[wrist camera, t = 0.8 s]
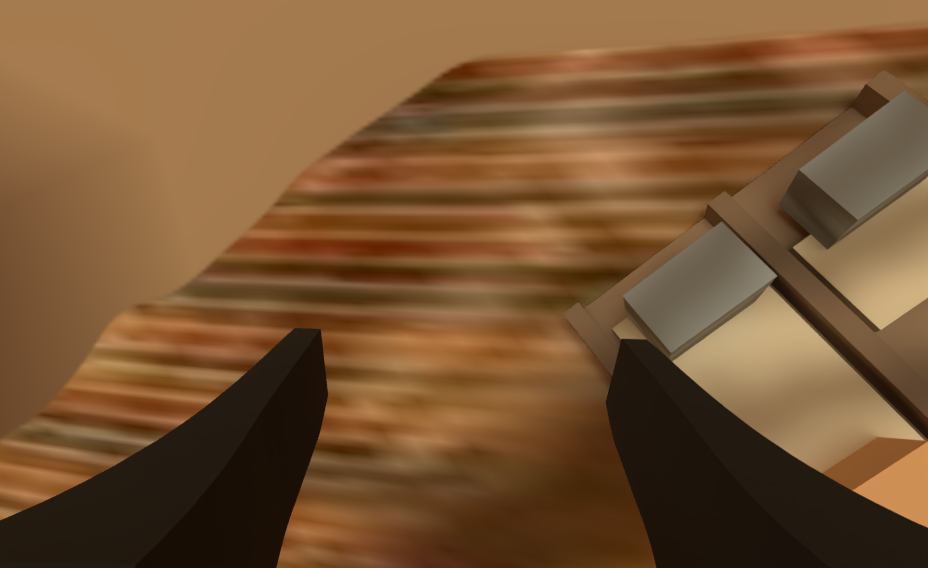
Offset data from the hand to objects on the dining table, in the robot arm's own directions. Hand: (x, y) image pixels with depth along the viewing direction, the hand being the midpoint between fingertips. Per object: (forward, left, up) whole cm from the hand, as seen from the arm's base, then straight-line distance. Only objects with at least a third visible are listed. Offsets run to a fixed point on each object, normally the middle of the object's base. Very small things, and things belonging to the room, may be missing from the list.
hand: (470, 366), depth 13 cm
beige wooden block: (-7, -7, -17) cm, 20 cm away
